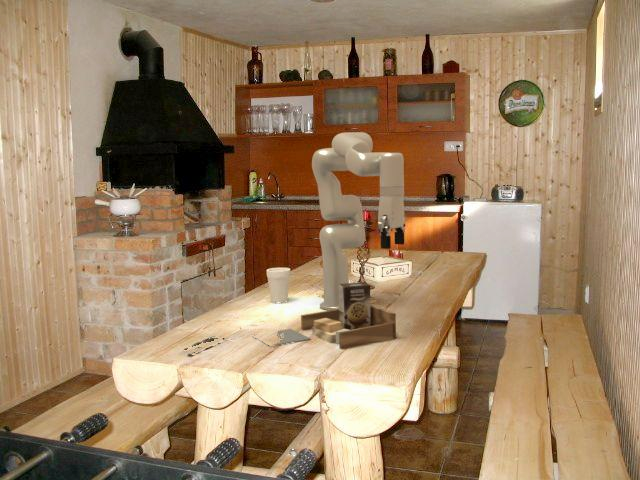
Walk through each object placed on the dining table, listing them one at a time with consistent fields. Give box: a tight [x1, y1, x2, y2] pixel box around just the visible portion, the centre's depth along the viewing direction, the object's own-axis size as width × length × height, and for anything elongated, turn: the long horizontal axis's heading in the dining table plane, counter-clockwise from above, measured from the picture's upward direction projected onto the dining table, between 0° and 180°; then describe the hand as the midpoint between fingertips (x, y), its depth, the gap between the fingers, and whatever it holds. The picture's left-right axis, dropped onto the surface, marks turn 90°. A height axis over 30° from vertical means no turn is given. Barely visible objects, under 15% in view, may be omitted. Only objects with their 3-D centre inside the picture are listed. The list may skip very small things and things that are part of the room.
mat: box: [253, 328, 311, 346], centre depth 209 cm, size 14×14×1 cm
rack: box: [300, 304, 397, 350], centre depth 211 cm, size 26×20×8 cm
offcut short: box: [314, 318, 342, 333], centre depth 209 cm, size 8×5×2 cm, turn 40°
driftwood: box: [183, 335, 218, 356], centre depth 203 cm, size 21×7×2 cm, turn 151°
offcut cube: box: [335, 329, 348, 345], centre depth 201 cm, size 4×4×4 cm
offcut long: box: [311, 327, 336, 344], centre depth 208 cm, size 12×6×3 cm, turn 30°
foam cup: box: [266, 267, 291, 303], centre depth 259 cm, size 10×9×13 cm
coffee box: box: [339, 281, 371, 330], centre depth 212 cm, size 9×6×16 cm
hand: (392, 246), depth 206 cm, fingers open, 9 cm apart
